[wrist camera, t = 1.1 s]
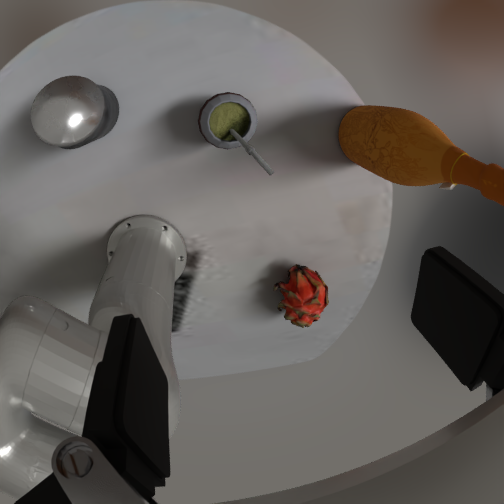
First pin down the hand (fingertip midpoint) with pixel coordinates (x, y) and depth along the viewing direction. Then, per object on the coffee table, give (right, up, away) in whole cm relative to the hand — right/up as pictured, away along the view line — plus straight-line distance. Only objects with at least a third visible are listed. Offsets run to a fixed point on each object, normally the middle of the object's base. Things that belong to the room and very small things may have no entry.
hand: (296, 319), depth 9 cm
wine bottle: (+16, +20, +35) cm, 43 cm away
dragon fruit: (+6, -3, +45) cm, 46 cm away
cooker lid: (-21, +17, +17) cm, 32 cm away
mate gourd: (-5, +20, +31) cm, 37 cm away
